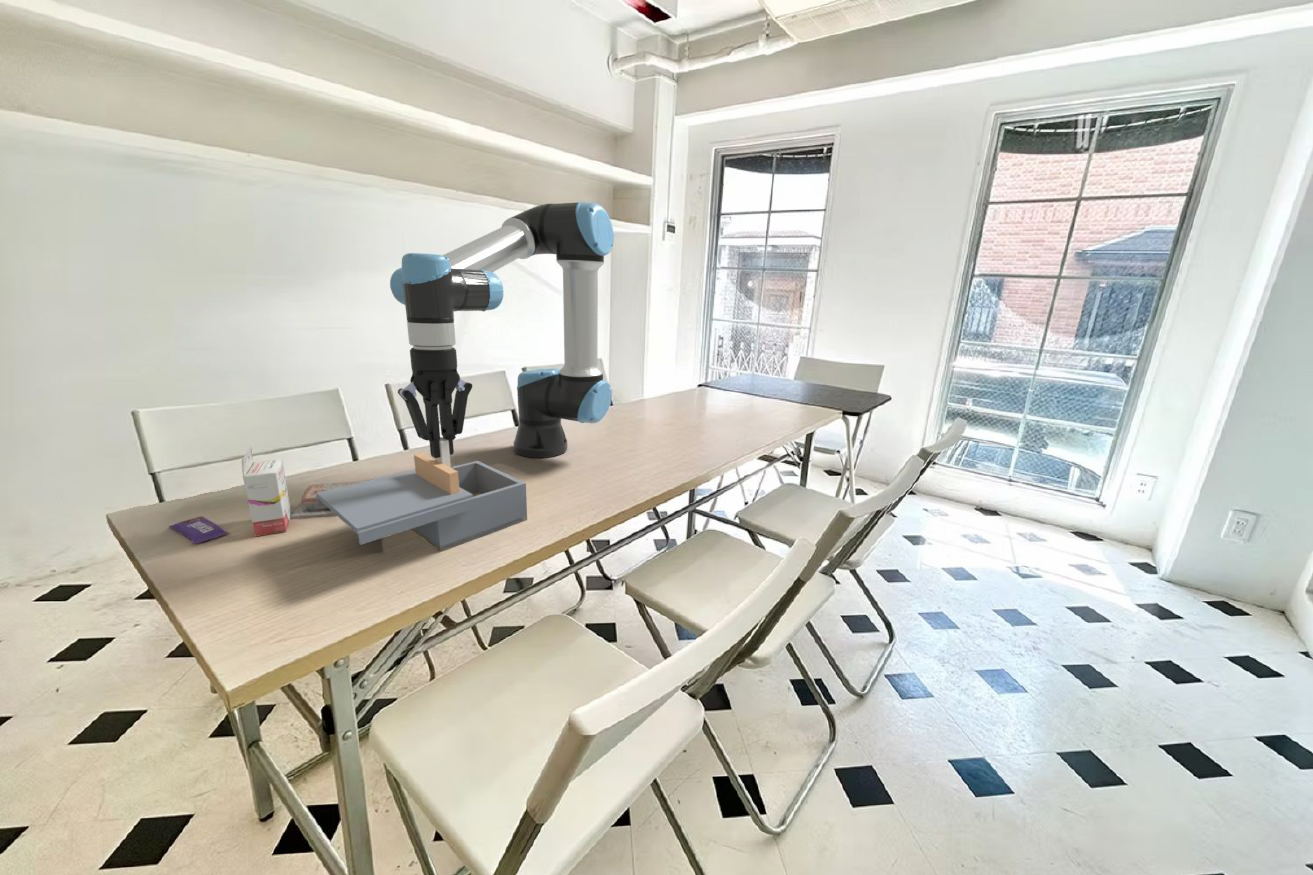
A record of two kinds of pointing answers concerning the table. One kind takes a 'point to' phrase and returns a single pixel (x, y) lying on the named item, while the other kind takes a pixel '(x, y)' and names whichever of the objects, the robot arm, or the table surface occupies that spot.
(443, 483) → the lid
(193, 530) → the snack package
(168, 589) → the table surface
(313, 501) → the packaged product
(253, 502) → the ink cartridge box
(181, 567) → the table surface
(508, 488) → the open gray box
